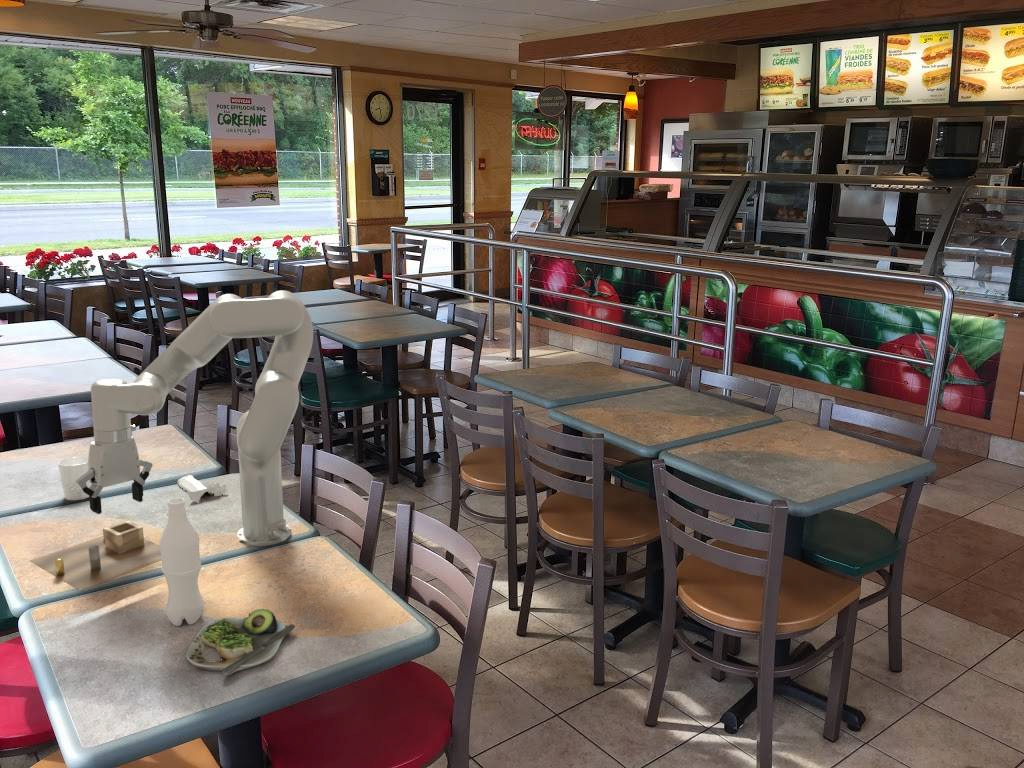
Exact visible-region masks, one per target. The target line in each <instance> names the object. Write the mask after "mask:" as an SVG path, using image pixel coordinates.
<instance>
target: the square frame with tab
mask: <svg viewBox="0 0 1024 768" xmlns="http://www.w3.org/2000/svg"><path fill="white" fill-rule="evenodd" d="M102 536H104V539H105V546H106V547H107V548H109V549H111V550H113V551H115V552H117V553H119V554H121V553H123V552H126V551H129V550H132V549H135V548H137V547H140V546H143V545H144V538H145V537H144V529H143V526H142V525H139V524H137V523H135V522H133V521H131V520H126V521H123V522H120V523H117V524H113V525H110V526H106V527H104V528H102Z"/></svg>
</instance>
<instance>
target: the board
mask: <svg viewBox="0 0 1024 768" xmlns="http://www.w3.org/2000/svg"><path fill="white" fill-rule="evenodd" d="M57 558H63V563H64V571H65V574H64V575H63V576H56V568H55V559H57ZM160 561H161V550H160V546H159V544H158V543H155V542H153V541H151V540H149V539H147V538H145V537H144V545H143V546H140V547H137V548H135V549H132V550H129V551H126V552H123V553H121V554H119V553H117V552H115V551H113V550H111V549H109V548H107V547H106V546H105V539H104V536H103V535H102V536H99V537H95V538H93V539H90V540H87V541H84V542H81V543H77V544H75V545H72V546H69V547H66V548H63V549H60V550H57V551H53V552H51V553H48V554H46V555H45V554H44V555H42V556H39V557H36V558H32V559H30V560H29V562H31V563H32V564H35V565H36V566H38V567H39V568H41V569H43V570H44V571H46V572H48V573H49V574H51V575H52V576H54V577H56V578H59V580H61V581H62V582H64V583H67V584H68V585H70V586H71V587H73V588H75V589H76V590H78V591H81V592H82V591H83V590H87V589H89V588H92V587H95V586H96V585H99V584H103V583H104V582H107V581H110V580H113V579H115V578H118V577H121V576H123V575H126V574H128V573H132V572H133V571H137V570H139V569H141V568H145V567H147V566H149V565H152V564H155V563H158V562H160Z"/></svg>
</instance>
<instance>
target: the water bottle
mask: <svg viewBox="0 0 1024 768" xmlns="http://www.w3.org/2000/svg"><path fill="white" fill-rule="evenodd" d="M185 503H186V502H185V499H184V498H183V497H174V498H170V499H168V500H167V512H166V515H168V518H167V521H166V524H165V525H164V527H163V529H162V532H161V534H160V538H159V541H158V543H159V544H158V545H159V546H160V550H161V560H160V561H161V569H160V571H161V572H162V574H163V575H164V579H165V580H166V584H167V589H168V590H167V591H168V592H167V596H168V597H167V601H166V604H165V607H164V612H165V614H166V616H167V618H168V620H169V622H170V623H171V624H172V625H174V626H176V627H178V626H181V625H182V623H183V621H184V619H185V621H186V623H187V624H188V625H193V624H195V623H196V622H197V621H199V618H201V616H202V615H203V614H204V610H205V600H204V598H203V597H202V595H201V594H202V593H201V591H200V588H199V581H198V579H199V575H200V572H201V569H202V562H201V561H202V560H201V555H200V554H201V553H200V537H199V536H200V535H199V533H198V531H197V530H196V529H197V528H196V527H194V525H193V523H191V521H190V519H189V518H188V516H187V512H188V509H187V507H186V506H185V505H186V504H185Z"/></svg>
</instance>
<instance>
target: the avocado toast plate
mask: <svg viewBox="0 0 1024 768" xmlns="http://www.w3.org/2000/svg"><path fill="white" fill-rule="evenodd" d="M247 615H248V616H246V617H237V616H234V617H232V616H231V617H230V616H229V617H220V618H217V619H214V620H212V621H209V622H207V623H206V624H205V625H203V626H202V627H200V629H199V630H198V632H197V634H196V635H195V637H194V638H193V639H192V642H191V644H190V645H189V647H188V649H187V650H186V653H185V658H186V661H187V662H188V663H189V664H191V666H193V667H195V668H198V669H201V670H204V671H208V670H209V672H220V674H221V675H223V676H230V675H232V674H233V673H235V672H240V671H241V670H242V671H243V670H245V669H246V670H247V669H250V668H252V667H253V668H254V667H256V666H259V665H261V664H264V663H266V662H268V661H270V660H271V659H273V657H274V656H275V655H276V654H277V652H278V650H279V648H280V647H281V643H282V642H283V640H284V639H285V638H286V636H287V635H289V634H290V633H291V632H293V630H294V629H295V628H296V626H295V624H292V623H291V624H289V625H286V624H285V623H284V622H283V621H281V620H279V619H276V615H275V614H274V613H273V612H272V610H269V609H265V608H261V609H255V610H253V611H252V612H250V613H248V614H247ZM206 646H208V647H209V646H210V648H212V649H216V651H217V653H218V655H220V656H221V657H220V659H219V660H220V661H219V660H215V661H214V660H213V661H214V662H213V661H208V660H207V659H206V658H205V657H204V655H203V651H204V649H205V647H206ZM221 659H222V660H221ZM206 660H207V661H206Z"/></svg>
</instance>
